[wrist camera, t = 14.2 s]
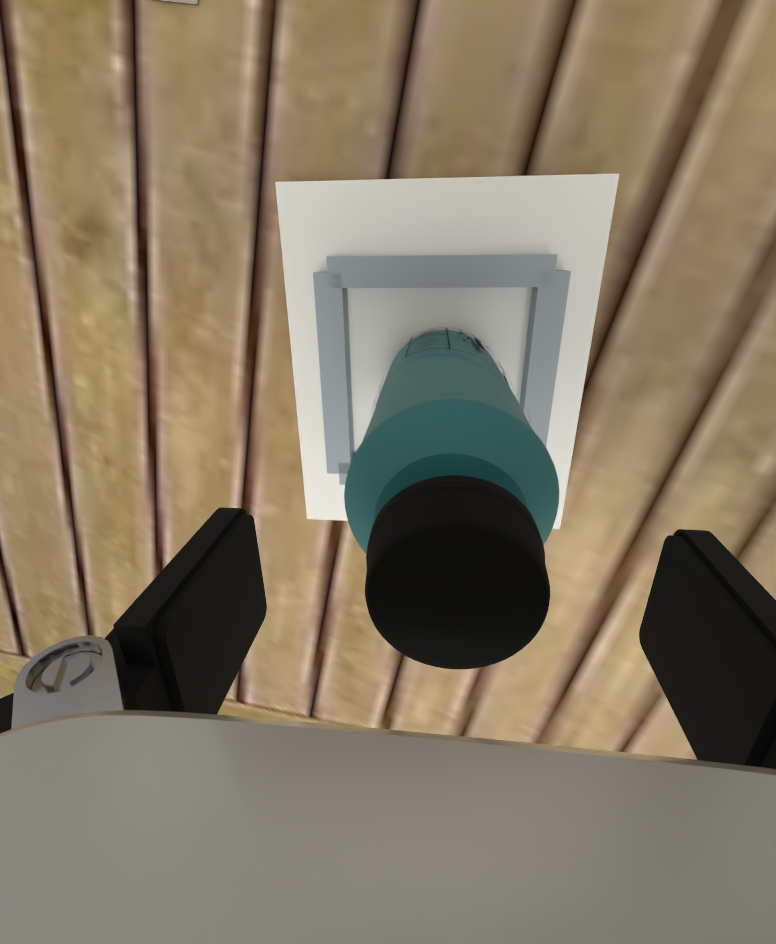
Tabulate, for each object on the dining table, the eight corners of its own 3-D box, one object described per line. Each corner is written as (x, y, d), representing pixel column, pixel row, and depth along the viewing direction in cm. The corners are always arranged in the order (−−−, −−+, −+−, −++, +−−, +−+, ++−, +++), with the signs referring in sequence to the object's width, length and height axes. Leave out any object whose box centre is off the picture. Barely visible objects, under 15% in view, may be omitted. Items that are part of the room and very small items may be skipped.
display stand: (600, 181, 25) (631, 168, 21) (549, 507, 34) (565, 541, 30) (291, 189, 27) (265, 177, 23) (317, 498, 35) (301, 530, 31)
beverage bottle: (370, 405, 29) (257, 663, 11) (415, 299, 26) (366, 406, 8) (466, 448, 29) (513, 760, 11) (520, 349, 27) (700, 553, 8)
